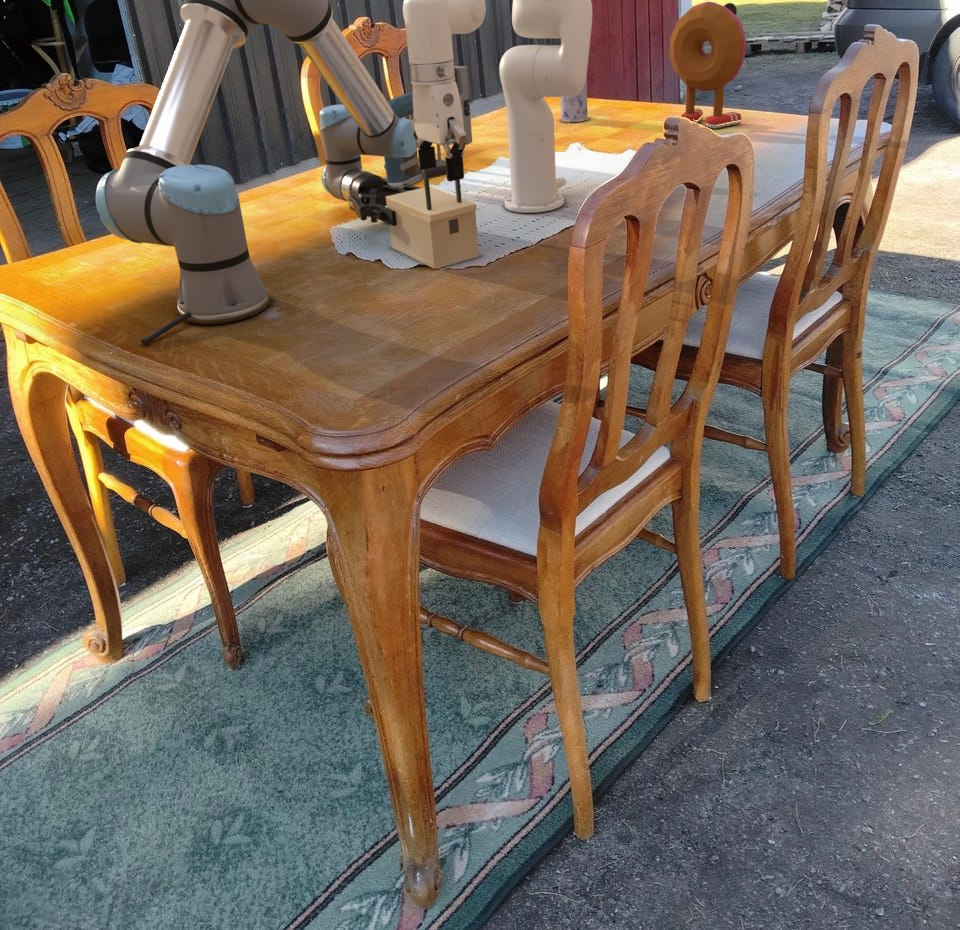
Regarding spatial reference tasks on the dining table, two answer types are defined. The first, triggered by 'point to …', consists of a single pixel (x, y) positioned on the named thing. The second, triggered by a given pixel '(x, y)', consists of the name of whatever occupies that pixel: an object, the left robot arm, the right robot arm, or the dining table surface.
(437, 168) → the lid
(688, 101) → the toy
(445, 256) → the chest
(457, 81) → the clamp
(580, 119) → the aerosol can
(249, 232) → the dining table surface
